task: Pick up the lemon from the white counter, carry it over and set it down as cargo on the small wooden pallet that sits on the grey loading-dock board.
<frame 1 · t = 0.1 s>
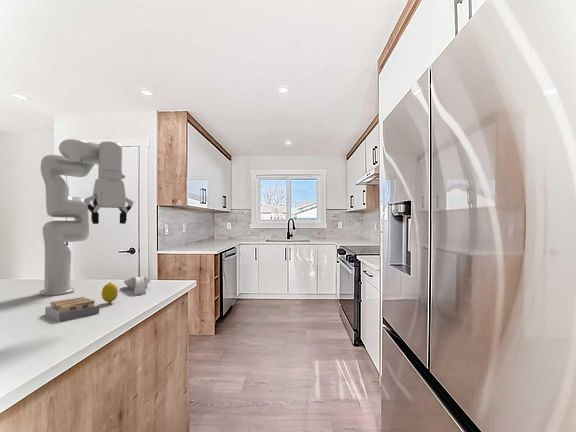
hand: (109, 223, 122), 31 cm above the counter, tool pointing down, fingers open, 9 cm apart
spoon rest: (138, 290, 156), on the counter
dock: (72, 313, 115), on the counter
pallet: (72, 306, 116), resting on dock
lemon: (109, 303, 131), on the counter
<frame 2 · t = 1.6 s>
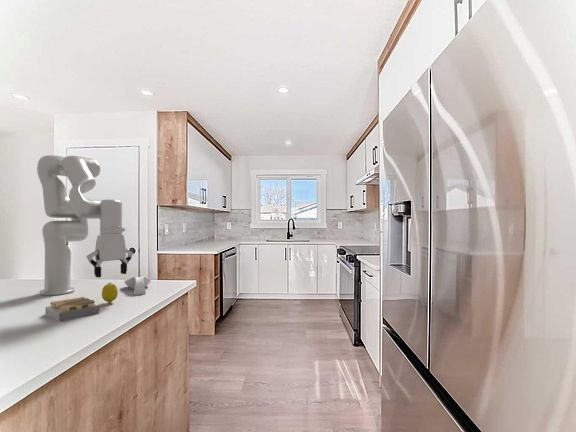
hand: (111, 275, 130), 11 cm above the counter, tool pointing down, fingers open, 9 cm apart
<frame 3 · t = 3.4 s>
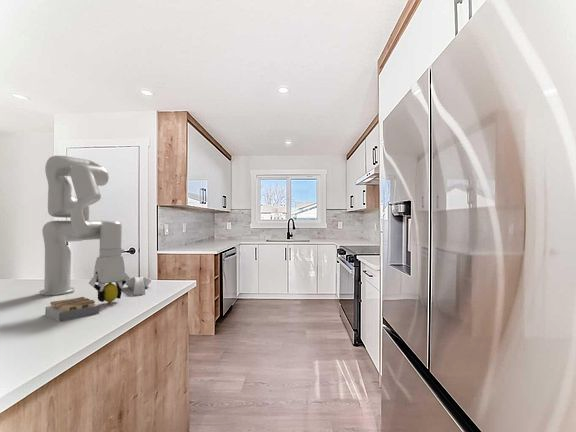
hand: (109, 299, 131), 2 cm above the counter, tool pointing down, fingers closed on lemon, 5 cm apart
lemon: (109, 303, 131), on the counter, touching gripper
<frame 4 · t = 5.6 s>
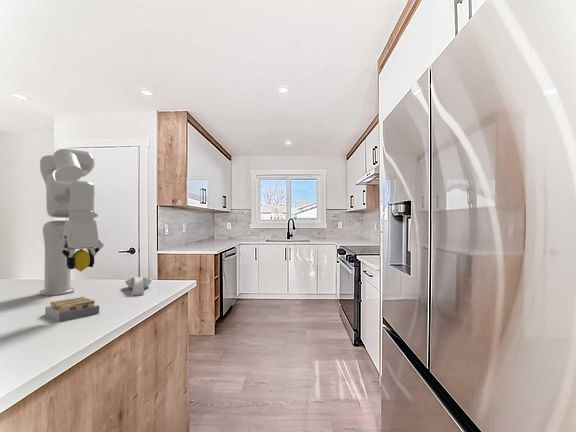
hand: (80, 267, 118), 16 cm above the counter, tool pointing down, fingers closed on lemon, 5 cm apart
lemon: (80, 272, 118), point 14 cm above the counter, touching gripper
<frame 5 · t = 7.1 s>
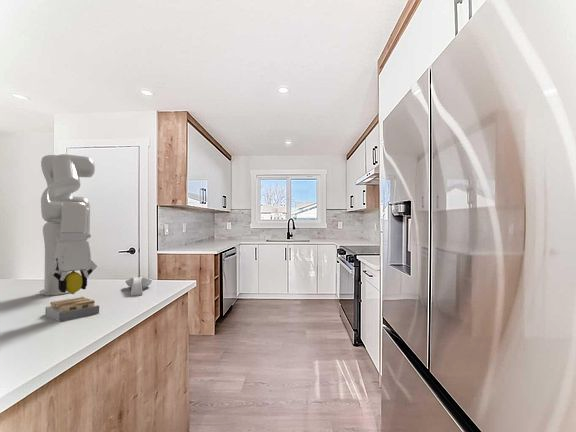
hand: (73, 289, 116), 8 cm above the counter, tool pointing down, fingers closed on lemon, 5 cm apart
lemon: (73, 294, 116), point 7 cm above the counter, touching gripper
when the fingers open (7 cm above the counter, at t = 8.1 s): lemon drops 1 cm, resting on pallet.
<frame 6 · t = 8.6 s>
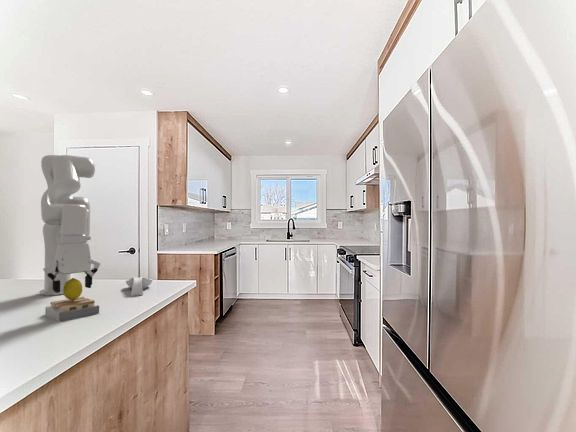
hand: (73, 289, 116), 8 cm above the counter, tool pointing down, fingers open, 9 cm apart
lemon: (72, 301, 116), point 4 cm above the counter, touching pallet
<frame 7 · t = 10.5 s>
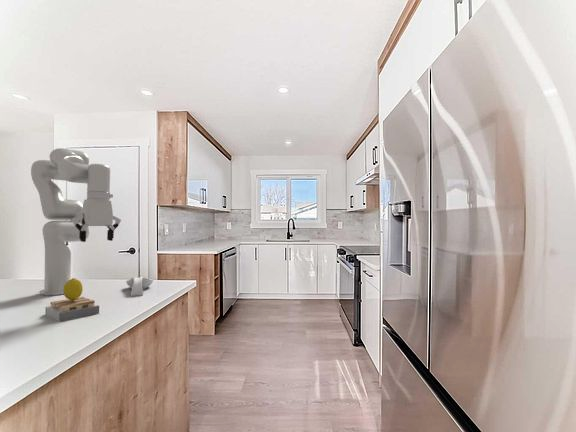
hand: (96, 240, 129), 24 cm above the counter, tool pointing down, fingers open, 9 cm apart
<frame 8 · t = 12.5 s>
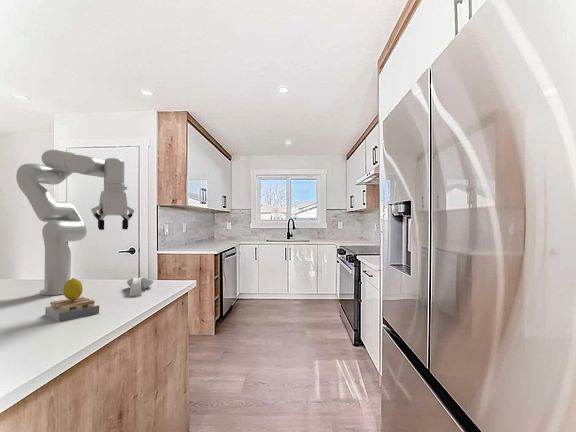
hand: (113, 229, 140), 28 cm above the counter, tool pointing down, fingers open, 9 cm apart
at the end: lemon 0.1 cm from the pallet (horizontally); lemon touching pallet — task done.
